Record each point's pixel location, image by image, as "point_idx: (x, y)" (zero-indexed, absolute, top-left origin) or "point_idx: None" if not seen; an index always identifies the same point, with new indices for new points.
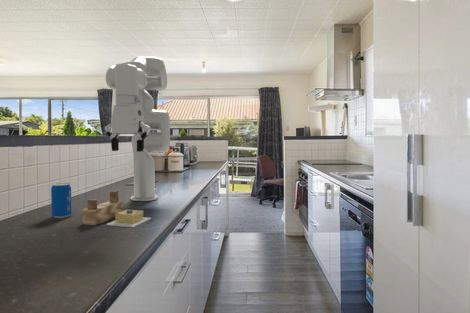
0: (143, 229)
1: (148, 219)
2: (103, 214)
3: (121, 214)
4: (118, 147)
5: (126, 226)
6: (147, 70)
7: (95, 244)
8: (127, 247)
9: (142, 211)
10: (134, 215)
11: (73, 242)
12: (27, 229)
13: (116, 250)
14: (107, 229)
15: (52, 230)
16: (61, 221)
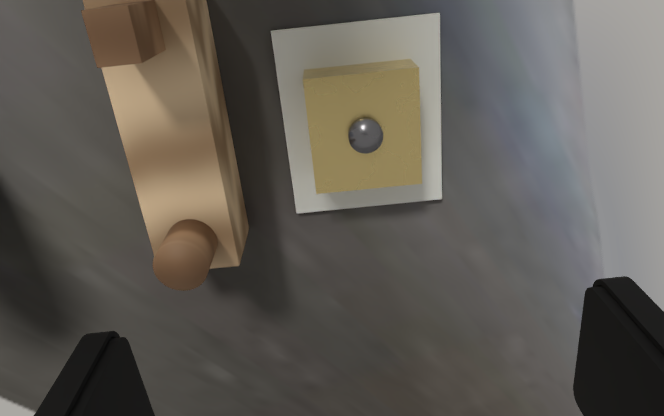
0: (502, 204)
1: (439, 48)
2: (232, 186)
3: (354, 189)
4: (106, 370)
5: (405, 201)
6: None
7: (436, 393)
8: (553, 381)
9: (418, 76)
10: (419, 161)
11: (353, 402)
12: (57, 363)
13: (533, 408)
14: (350, 258)
15: (157, 341)
16: (43, 234)
